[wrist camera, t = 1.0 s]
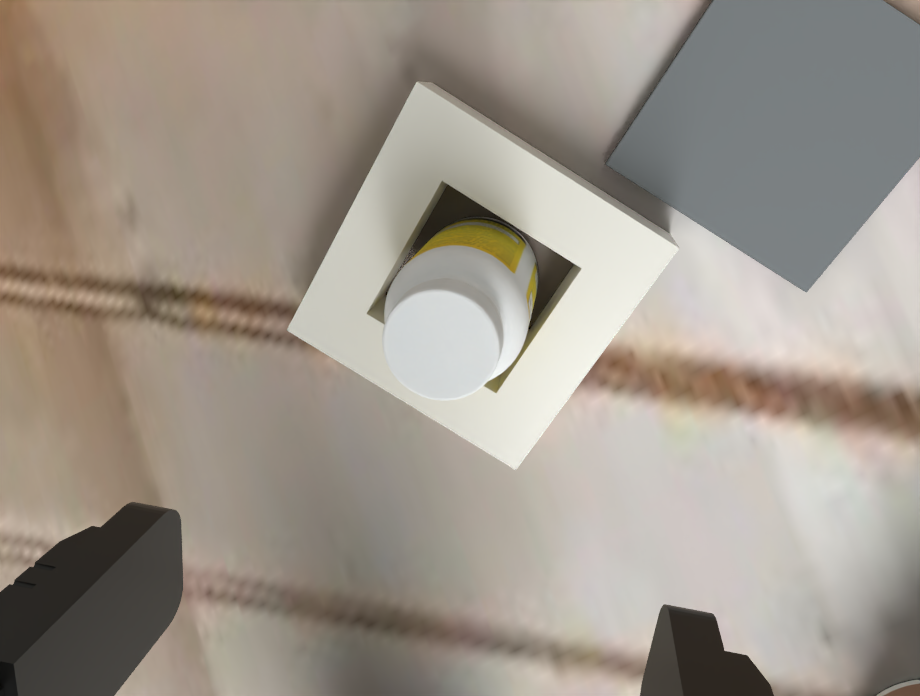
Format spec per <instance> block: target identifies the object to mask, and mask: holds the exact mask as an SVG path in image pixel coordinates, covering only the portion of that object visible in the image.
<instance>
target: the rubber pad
mask: <svg viewBox="0 0 920 696" xmlns="http://www.w3.org/2000/svg"><path fill="white" fill-rule="evenodd" d="M919 157H920V25H919V24H918V23H916V22H915V21H913V20H912V19H910V18H909V17H907V16H906V15H904V14H903V13H901V12H900V11H898V10H897V9H895V8H894V7H892V6H891V5H889V4H888V3H886V2H885V1H883V0H712V2H711V3H710V5H709V6H708V8H707V9H706V11H705V13H704V14H703V16H702V17H701V19H700V20H699V22H698V23H697V25H696V26H695V28H694V29H693V31H692V32H691V34H690V35H689V37H688V38H687V40H686V41H685V43H684V44H683V46H682V48H681V49H680V51H679V52H678V54H677V55H676V57H675V58H674V60H673V61H672V63H671V64H670V66H669V67H668V69H667V70H666V72H665V73H664V75H663V76H662V78H661V79H660V81H659V83H658V84H657V86H656V87H655V89H654V90H653V92H652V93H651V95H650V96H649V98H648V99H647V101H646V102H645V104H644V105H643V107H642V108H641V110H640V111H639V113H638V114H637V116H636V118H635V119H634V121H633V122H632V124H631V125H630V127H629V128H628V130H627V131H626V133H625V134H624V136H623V137H622V139H621V140H620V142H619V143H618V145H617V146H616V148H615V149H614V151H613V153H612V154H611V156H610V157H609V159H608V160H607V162H606V163H605V164H606V165H607V166H609V167H610V168H612V169H613V170H615V171H616V172H618V173H620V174H621V175H623V176H624V177H626V178H627V179H629V180H631V181H632V182H634V183H635V184H637V185H638V186H640V187H641V188H643V189H645V190H646V191H648V192H649V193H651V194H652V195H654V196H656V197H657V198H659V199H660V200H662V201H663V202H665V203H667V204H668V205H670V206H671V207H673V208H674V209H676V210H678V211H679V212H681V213H682V214H684V215H685V216H687V217H689V218H690V219H692V220H693V221H695V222H696V223H698V224H700V225H701V226H703V227H704V228H706V229H707V230H709V231H711V232H712V233H714V234H715V235H717V236H718V237H720V238H722V239H723V240H725V241H726V242H728V243H729V244H731V245H733V246H734V247H736V248H737V249H739V250H740V251H742V252H743V253H745V254H747V255H748V256H750V257H751V258H753V259H754V260H756V261H758V262H759V263H761V264H762V265H764V266H765V267H767V268H769V269H770V270H772V271H773V272H775V273H776V274H778V275H780V276H781V277H783V278H784V279H786V280H787V281H789V282H791V283H792V284H794V285H795V286H797V287H798V288H800V289H802V290H803V291H805V292H807V291H808V290H809V289H810V288H811V286H812V285H813V284H814V283H815V282H816V280H817V279H818V278H819V277H820V276H821V275H822V273H823V272H824V271H825V270H826V269H827V267H828V266H829V265H830V264H831V263H832V261H833V260H834V259H835V258H836V257H837V255H838V254H839V253H840V252H841V251H842V249H843V248H844V247H845V246H846V245H847V243H848V242H849V241H850V240H851V239H852V237H853V236H854V235H855V234H856V233H857V232H858V230H859V229H860V228H861V227H862V226H863V224H864V223H865V222H866V221H867V220H868V218H869V217H870V216H871V215H872V214H873V212H874V211H875V210H876V209H877V208H878V206H879V205H880V204H881V203H882V202H883V200H884V199H885V198H886V197H887V196H888V194H889V193H890V192H891V191H892V190H893V189H894V187H895V186H896V185H897V184H898V183H899V181H900V180H901V179H902V178H903V177H904V175H905V174H906V173H907V172H908V171H909V169H910V168H911V167H912V166H913V165H914V163H915V162H916V161H917V160H918V159H919Z"/></svg>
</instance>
